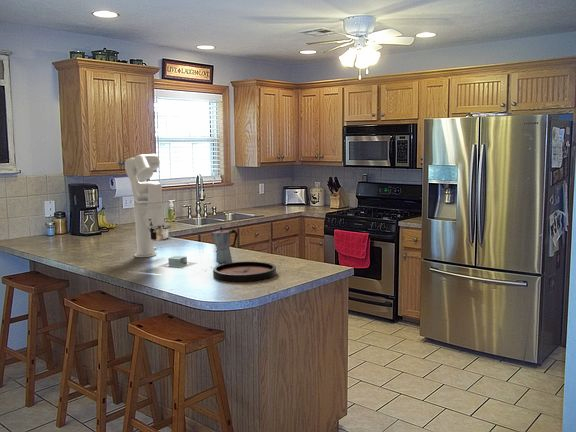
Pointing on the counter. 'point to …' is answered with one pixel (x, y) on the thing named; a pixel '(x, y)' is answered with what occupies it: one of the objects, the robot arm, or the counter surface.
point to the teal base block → (177, 260)
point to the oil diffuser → (165, 231)
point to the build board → (177, 266)
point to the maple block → (158, 234)
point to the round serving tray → (244, 272)
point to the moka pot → (223, 245)
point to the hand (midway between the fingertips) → (156, 238)
